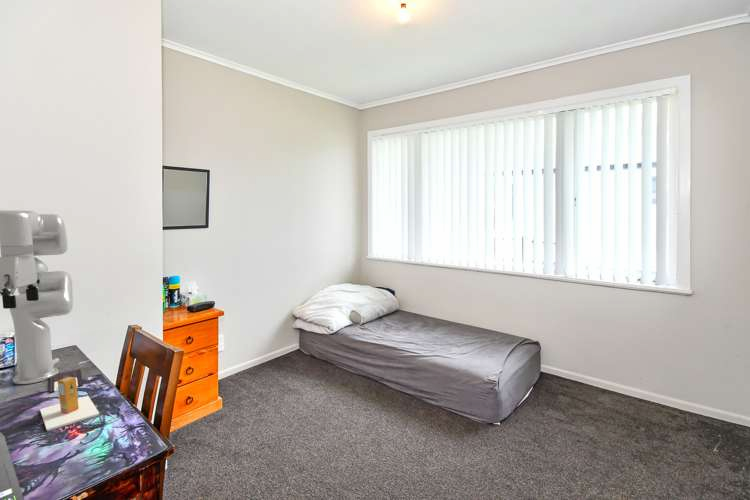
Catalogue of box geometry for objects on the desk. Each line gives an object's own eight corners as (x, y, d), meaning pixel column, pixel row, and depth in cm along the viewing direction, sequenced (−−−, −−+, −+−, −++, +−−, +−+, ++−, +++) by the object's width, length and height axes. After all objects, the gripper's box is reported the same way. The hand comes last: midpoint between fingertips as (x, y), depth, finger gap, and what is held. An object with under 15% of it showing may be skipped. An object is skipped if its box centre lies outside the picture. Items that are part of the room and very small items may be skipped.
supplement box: (71, 407, 117) (69, 375, 116) (79, 409, 116) (76, 377, 115) (59, 412, 114) (57, 380, 113) (67, 414, 113) (64, 381, 112)
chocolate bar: (80, 368, 147) (82, 384, 133) (80, 371, 147) (82, 387, 133) (49, 375, 141) (49, 392, 127) (50, 377, 141) (49, 394, 127)
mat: (40, 410, 116) (39, 409, 116) (88, 397, 125) (88, 395, 125) (47, 431, 105) (46, 429, 105) (99, 415, 114) (99, 413, 114)
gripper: (24, 248, 127) (28, 298, 129) (-21, 254, 110) (-15, 311, 112) (49, 248, 128) (53, 297, 130) (9, 254, 111) (14, 311, 113)
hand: (21, 304), depth 121 cm, fingers open, 9 cm apart
